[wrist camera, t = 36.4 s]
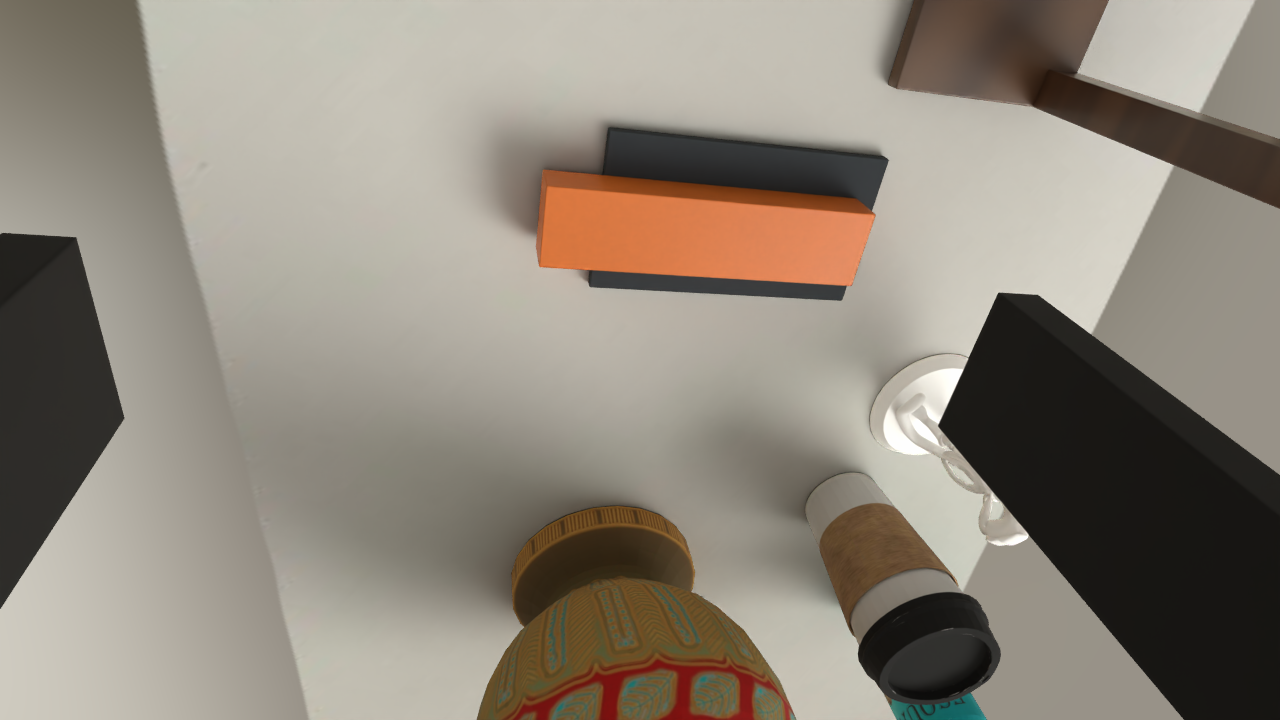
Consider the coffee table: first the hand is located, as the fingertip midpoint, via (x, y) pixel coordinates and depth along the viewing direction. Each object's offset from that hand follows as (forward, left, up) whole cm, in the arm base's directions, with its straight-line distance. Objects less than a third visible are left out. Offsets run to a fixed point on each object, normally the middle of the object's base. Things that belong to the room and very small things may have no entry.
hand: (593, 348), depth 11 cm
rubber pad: (+14, +7, -29) cm, 33 cm away
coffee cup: (+40, +8, -29) cm, 50 cm away
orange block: (+13, +5, -28) cm, 31 cm away
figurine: (+34, +16, -29) cm, 47 cm away
